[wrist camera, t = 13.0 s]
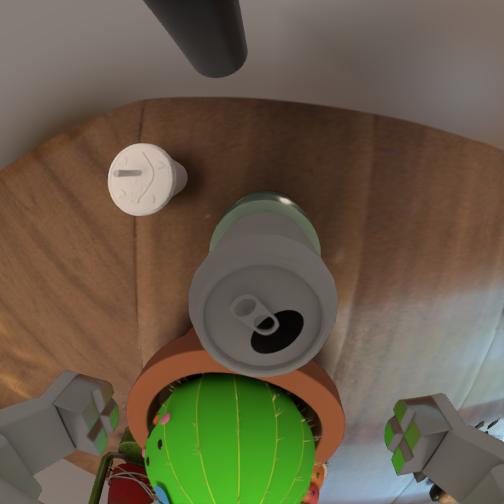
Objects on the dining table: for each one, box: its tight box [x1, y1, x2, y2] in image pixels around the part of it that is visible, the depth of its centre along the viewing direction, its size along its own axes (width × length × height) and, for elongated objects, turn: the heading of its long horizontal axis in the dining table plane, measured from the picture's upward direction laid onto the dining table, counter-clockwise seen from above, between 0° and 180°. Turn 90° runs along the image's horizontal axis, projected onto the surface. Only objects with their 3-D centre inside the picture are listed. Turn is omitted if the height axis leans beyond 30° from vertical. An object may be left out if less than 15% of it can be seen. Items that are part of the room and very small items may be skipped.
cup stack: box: [209, 191, 321, 257], centre depth 30 cm, size 10×10×10 cm
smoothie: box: [108, 143, 188, 216], centre depth 27 cm, size 6×6×14 cm
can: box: [188, 212, 338, 377], centre depth 19 cm, size 8×8×12 cm
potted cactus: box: [126, 326, 345, 504], centre depth 27 cm, size 22×22×25 cm
